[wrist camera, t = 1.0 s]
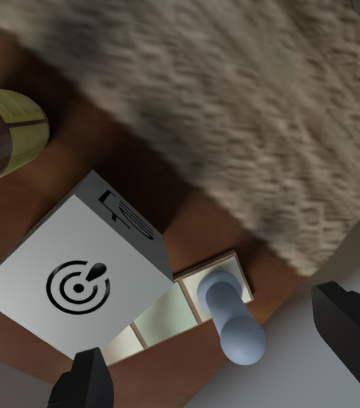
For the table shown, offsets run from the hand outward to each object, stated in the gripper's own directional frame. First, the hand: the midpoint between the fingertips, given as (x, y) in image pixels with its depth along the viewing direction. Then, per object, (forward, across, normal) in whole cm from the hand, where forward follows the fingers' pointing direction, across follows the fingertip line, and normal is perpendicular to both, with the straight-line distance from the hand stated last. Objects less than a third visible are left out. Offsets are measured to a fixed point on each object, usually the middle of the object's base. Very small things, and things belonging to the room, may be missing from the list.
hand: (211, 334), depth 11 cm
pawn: (+20, -4, +13) cm, 24 cm away
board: (+21, +3, +14) cm, 25 cm away
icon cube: (+21, +8, +3) cm, 23 cm away
